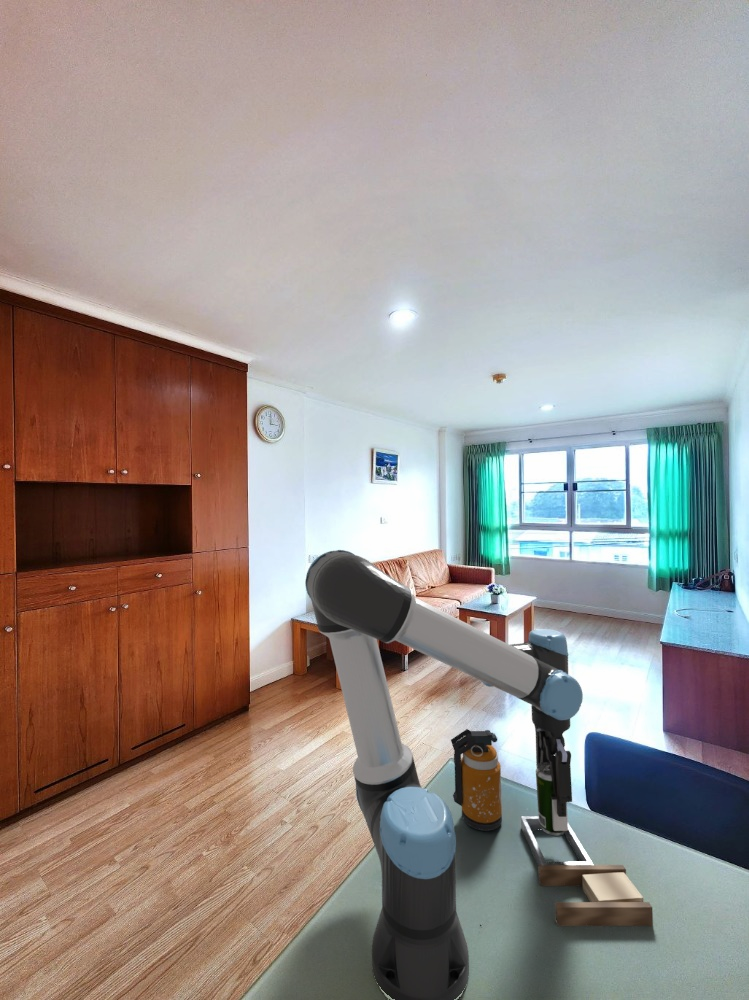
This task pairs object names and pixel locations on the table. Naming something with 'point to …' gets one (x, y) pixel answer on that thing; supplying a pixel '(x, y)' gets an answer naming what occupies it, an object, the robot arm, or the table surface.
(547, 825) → the beer can
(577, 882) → the beam
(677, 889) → the table surface
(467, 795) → the canister
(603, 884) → the block
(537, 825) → the frame
